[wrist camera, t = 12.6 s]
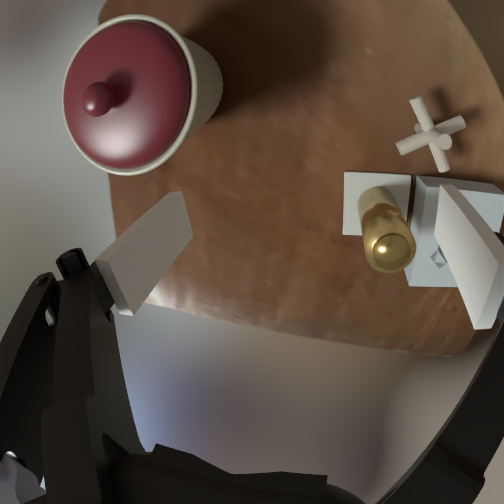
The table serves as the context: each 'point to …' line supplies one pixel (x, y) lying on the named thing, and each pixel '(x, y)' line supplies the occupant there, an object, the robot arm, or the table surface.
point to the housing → (424, 220)
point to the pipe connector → (431, 134)
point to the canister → (137, 93)
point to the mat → (362, 181)
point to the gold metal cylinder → (385, 231)
